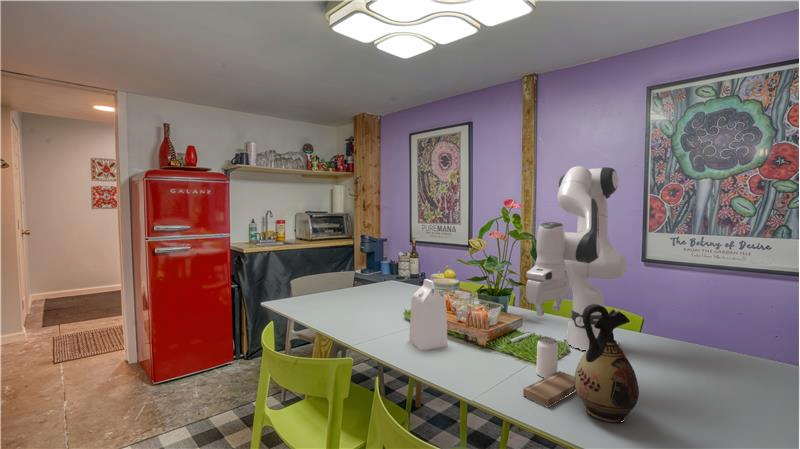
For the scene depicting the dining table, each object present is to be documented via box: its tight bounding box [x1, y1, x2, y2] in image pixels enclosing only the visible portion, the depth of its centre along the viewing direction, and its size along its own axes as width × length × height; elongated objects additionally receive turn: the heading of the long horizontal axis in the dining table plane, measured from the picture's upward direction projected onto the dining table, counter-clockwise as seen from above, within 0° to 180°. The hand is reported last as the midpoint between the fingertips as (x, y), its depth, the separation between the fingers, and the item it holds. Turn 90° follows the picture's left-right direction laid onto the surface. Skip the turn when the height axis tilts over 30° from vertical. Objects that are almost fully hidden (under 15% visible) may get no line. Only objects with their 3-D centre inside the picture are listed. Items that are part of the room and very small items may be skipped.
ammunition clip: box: [463, 312, 490, 344], centre depth 155 cm, size 11×2×12 cm, turn 55°
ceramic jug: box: [574, 304, 640, 423], centre depth 103 cm, size 17×15×30 cm
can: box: [536, 336, 559, 378], centre depth 127 cm, size 6×6×12 cm
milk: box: [408, 278, 448, 351], centre depth 154 cm, size 12×12×26 cm
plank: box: [522, 370, 576, 408], centre depth 116 cm, size 20×8×2 cm, turn 127°
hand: (548, 313), depth 126 cm, fingers open, 8 cm apart
